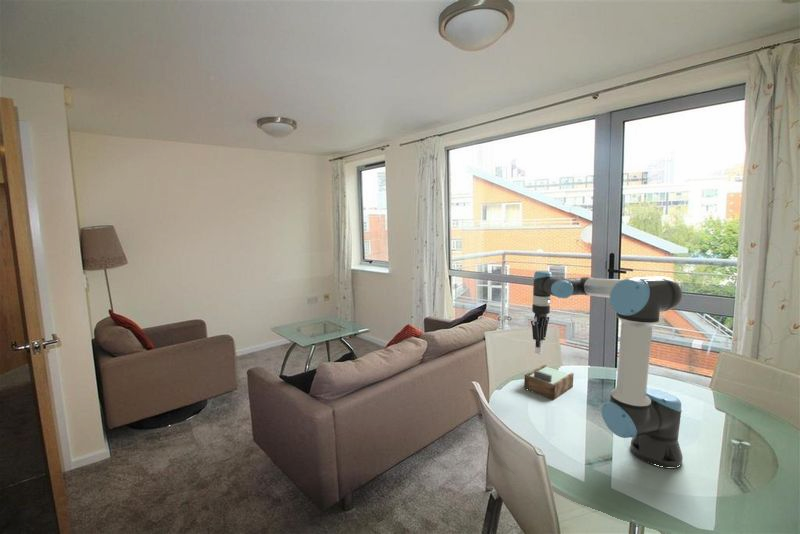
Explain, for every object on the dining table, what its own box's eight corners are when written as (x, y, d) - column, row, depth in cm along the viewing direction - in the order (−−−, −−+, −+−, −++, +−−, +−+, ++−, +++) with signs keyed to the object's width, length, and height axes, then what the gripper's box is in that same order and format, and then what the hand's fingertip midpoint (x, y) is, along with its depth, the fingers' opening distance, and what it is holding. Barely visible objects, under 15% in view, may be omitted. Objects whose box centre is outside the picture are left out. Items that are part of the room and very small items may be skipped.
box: (553, 400, 167) (554, 385, 166) (524, 388, 179) (524, 374, 178) (572, 387, 180) (573, 373, 179) (544, 377, 192) (544, 364, 191)
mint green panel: (553, 386, 169) (553, 378, 168) (529, 377, 178) (529, 370, 178) (569, 375, 180) (570, 368, 179) (546, 368, 189) (546, 361, 189)
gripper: (541, 308, 159) (538, 359, 162) (555, 303, 168) (552, 352, 171) (526, 305, 165) (523, 354, 168) (540, 300, 173) (538, 347, 176)
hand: (538, 353), depth 169 cm, fingers closed
